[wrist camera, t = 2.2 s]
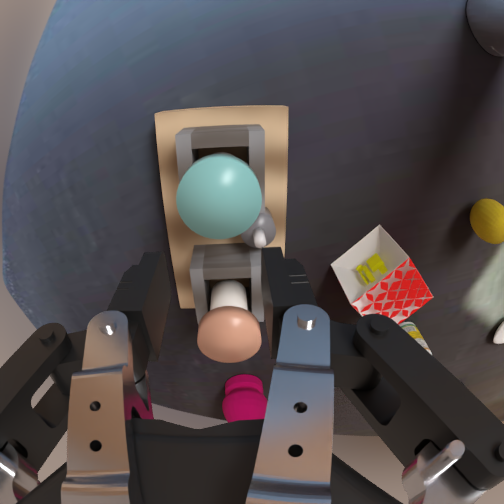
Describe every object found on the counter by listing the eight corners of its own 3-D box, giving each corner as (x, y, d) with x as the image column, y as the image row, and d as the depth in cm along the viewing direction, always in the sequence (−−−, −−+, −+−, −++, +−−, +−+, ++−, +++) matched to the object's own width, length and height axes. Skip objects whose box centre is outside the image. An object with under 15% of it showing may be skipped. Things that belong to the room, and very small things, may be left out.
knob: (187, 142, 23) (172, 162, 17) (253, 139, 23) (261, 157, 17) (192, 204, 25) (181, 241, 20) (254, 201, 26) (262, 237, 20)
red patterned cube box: (379, 223, 36) (409, 257, 29) (405, 262, 39) (433, 297, 32) (329, 264, 38) (349, 304, 31) (360, 297, 41) (381, 337, 34)
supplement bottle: (407, 315, 44) (433, 359, 35) (419, 329, 46) (443, 370, 38) (381, 336, 45) (403, 381, 37) (394, 348, 48) (415, 390, 39)
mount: (161, 111, 28) (140, 118, 21) (282, 105, 28) (298, 110, 22) (183, 293, 39) (176, 335, 32) (278, 289, 39) (287, 330, 33)
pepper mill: (254, 366, 47) (265, 485, 29) (271, 388, 50) (286, 494, 33) (214, 379, 48) (213, 492, 30) (234, 399, 51) (239, 502, 34)
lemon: (457, 228, 36) (490, 257, 30) (462, 191, 34) (499, 216, 27) (482, 223, 36) (515, 250, 29) (488, 189, 34) (524, 212, 27)
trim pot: (239, 204, 30) (240, 226, 26) (272, 203, 30) (279, 225, 26) (240, 234, 32) (242, 259, 27) (271, 232, 32) (278, 258, 27)
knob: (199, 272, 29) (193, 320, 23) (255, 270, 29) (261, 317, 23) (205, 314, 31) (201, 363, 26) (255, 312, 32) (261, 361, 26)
